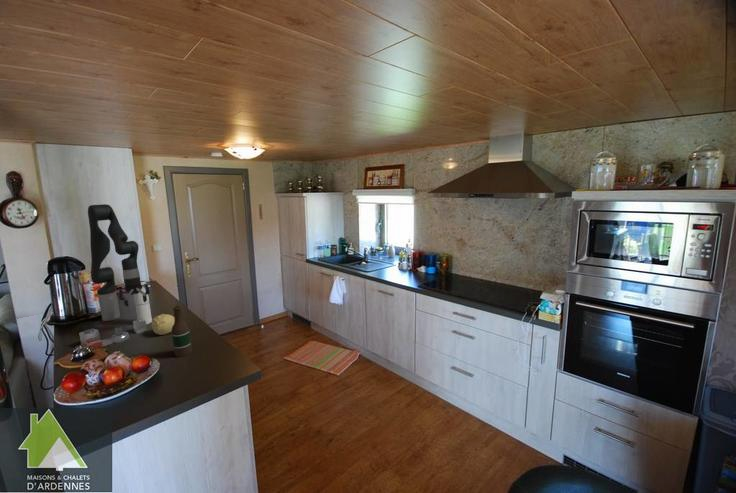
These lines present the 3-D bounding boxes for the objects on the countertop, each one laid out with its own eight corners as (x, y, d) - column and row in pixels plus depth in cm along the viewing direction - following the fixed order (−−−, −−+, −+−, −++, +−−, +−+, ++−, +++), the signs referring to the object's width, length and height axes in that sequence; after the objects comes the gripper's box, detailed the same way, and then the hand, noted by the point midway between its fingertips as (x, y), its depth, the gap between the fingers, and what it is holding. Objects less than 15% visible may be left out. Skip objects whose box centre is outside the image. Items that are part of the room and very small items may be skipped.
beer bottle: (180, 358, 158) (173, 310, 154) (171, 354, 162) (164, 308, 158) (195, 351, 164) (189, 305, 160) (186, 348, 169) (180, 303, 164)
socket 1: (81, 345, 176) (78, 331, 175) (94, 340, 181) (92, 327, 180) (87, 347, 173) (85, 333, 172) (100, 342, 179) (98, 329, 177)
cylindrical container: (145, 325, 200) (138, 285, 196) (135, 324, 201) (128, 285, 197) (155, 320, 207) (149, 281, 202) (145, 320, 208) (139, 281, 204)
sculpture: (150, 333, 188) (147, 315, 186) (173, 326, 197) (171, 309, 195) (156, 339, 180) (153, 320, 178) (180, 331, 189) (178, 313, 187)
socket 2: (134, 331, 192) (132, 320, 190) (144, 328, 195) (142, 317, 194) (136, 333, 188) (135, 322, 187) (146, 330, 192) (145, 319, 191)
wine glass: (75, 350, 169) (72, 337, 168) (126, 335, 186) (124, 323, 185) (79, 355, 164) (76, 341, 163) (131, 339, 181) (129, 326, 180)
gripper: (143, 273, 194) (148, 299, 197) (114, 278, 183) (119, 306, 186) (148, 274, 189) (152, 301, 192) (118, 280, 179) (123, 309, 181)
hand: (136, 304), depth 189 cm, fingers open, 8 cm apart
